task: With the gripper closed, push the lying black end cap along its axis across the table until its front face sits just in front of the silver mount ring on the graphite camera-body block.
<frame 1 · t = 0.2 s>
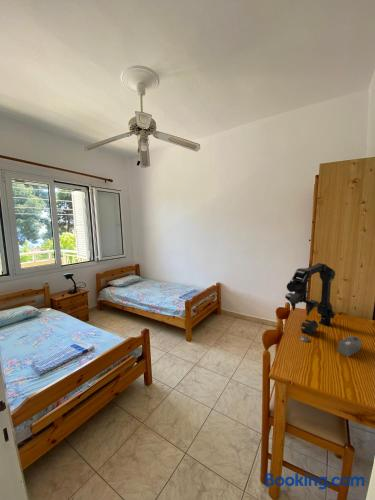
hand: (300, 312, 130), 14 cm above the table, fingers open, 9 cm apart
end cap: (309, 332, 134), on the table
lens cap: (304, 340, 125), on the table
camera body: (349, 350, 114), on the table
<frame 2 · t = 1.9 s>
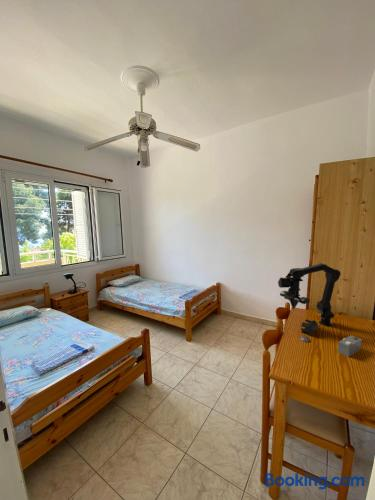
hand: (293, 308, 143), 11 cm above the table, fingers closed
nothing on the table moved.
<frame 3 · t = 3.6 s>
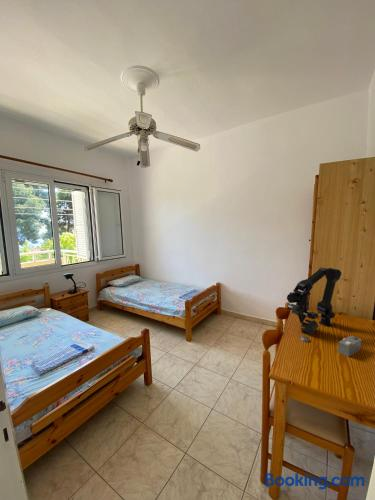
hand: (301, 323, 138), 3 cm above the table, fingers closed
end cap: (309, 332, 134), on the table, touching gripper
everything else where it was.
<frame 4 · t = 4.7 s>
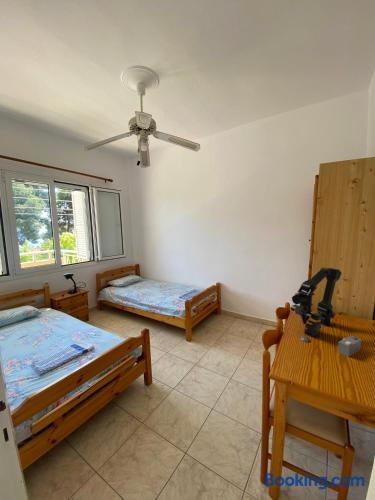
hand: (304, 324, 136), 4 cm above the table, fingers closed
end cap: (312, 333, 132), on the table, touching gripper
everything else where it was.
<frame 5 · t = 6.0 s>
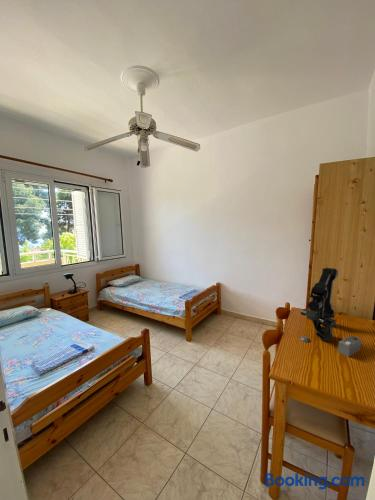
hand: (316, 329, 129), 4 cm above the table, fingers closed
end cap: (321, 335, 127), point 1 cm above the table, touching gripper
everything else where it was.
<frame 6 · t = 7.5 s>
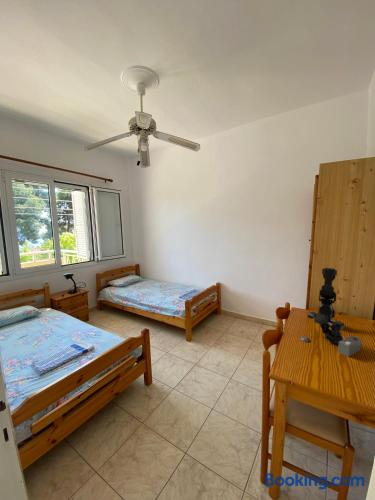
hand: (324, 333, 125), 4 cm above the table, fingers closed
end cap: (329, 338, 124), point 1 cm above the table, touching gripper
everything else where it was.
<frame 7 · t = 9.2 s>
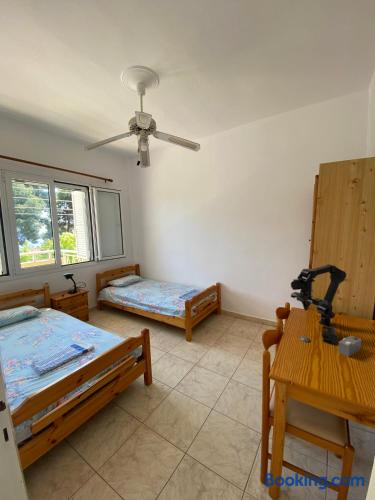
hand: (305, 310, 138), 12 cm above the table, fingers closed
end cap: (329, 340, 125), on the table
everything else where it was.
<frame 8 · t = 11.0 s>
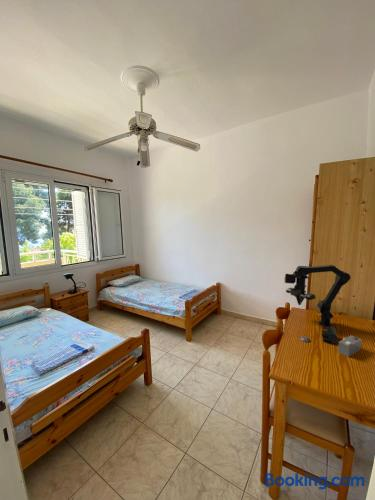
hand: (299, 304, 147), 12 cm above the table, fingers closed
nothing on the table moved.
at the end: end cap inside the target area on the table beside the camera body (2.2 cm from its centre), on the table; end cap moved 11.4 cm from its start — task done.
